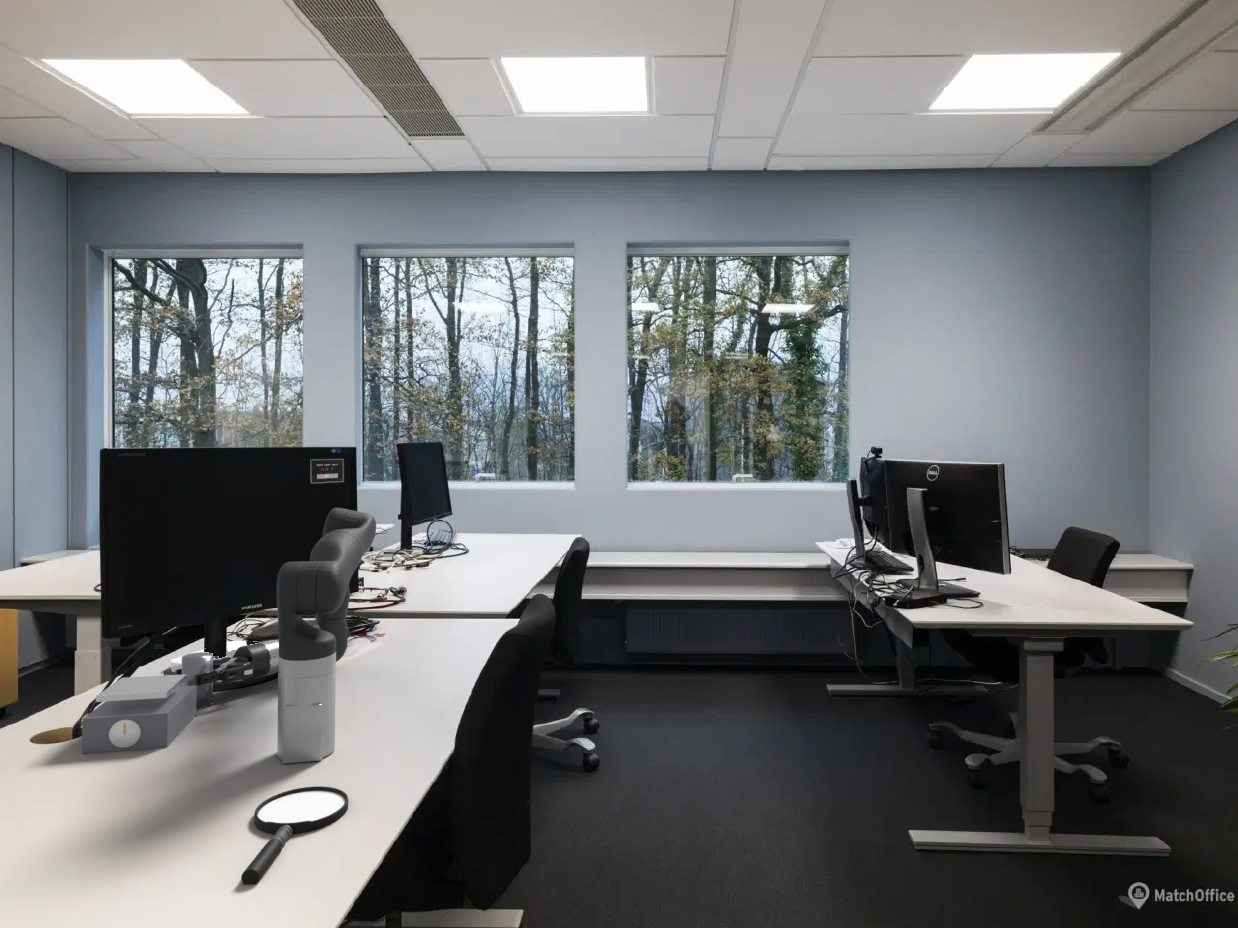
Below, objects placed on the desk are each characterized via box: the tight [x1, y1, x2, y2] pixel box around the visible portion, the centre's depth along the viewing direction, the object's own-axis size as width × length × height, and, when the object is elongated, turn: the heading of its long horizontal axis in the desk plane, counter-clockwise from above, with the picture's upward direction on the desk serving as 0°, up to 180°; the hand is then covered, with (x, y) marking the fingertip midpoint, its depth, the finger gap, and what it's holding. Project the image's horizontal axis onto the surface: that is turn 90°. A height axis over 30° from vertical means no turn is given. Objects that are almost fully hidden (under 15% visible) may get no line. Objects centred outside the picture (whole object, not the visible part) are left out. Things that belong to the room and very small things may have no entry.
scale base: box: [81, 685, 197, 754], centre depth 133 cm, size 16×13×6 cm
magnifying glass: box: [240, 786, 349, 886], centre depth 99 cm, size 12×24×2 cm, turn 5°
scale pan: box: [95, 674, 187, 703], centre depth 133 cm, size 11×11×1 cm
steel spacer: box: [180, 652, 214, 709], centre depth 149 cm, size 6×6×10 cm
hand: (185, 677), depth 147 cm, fingers open, 6 cm apart
